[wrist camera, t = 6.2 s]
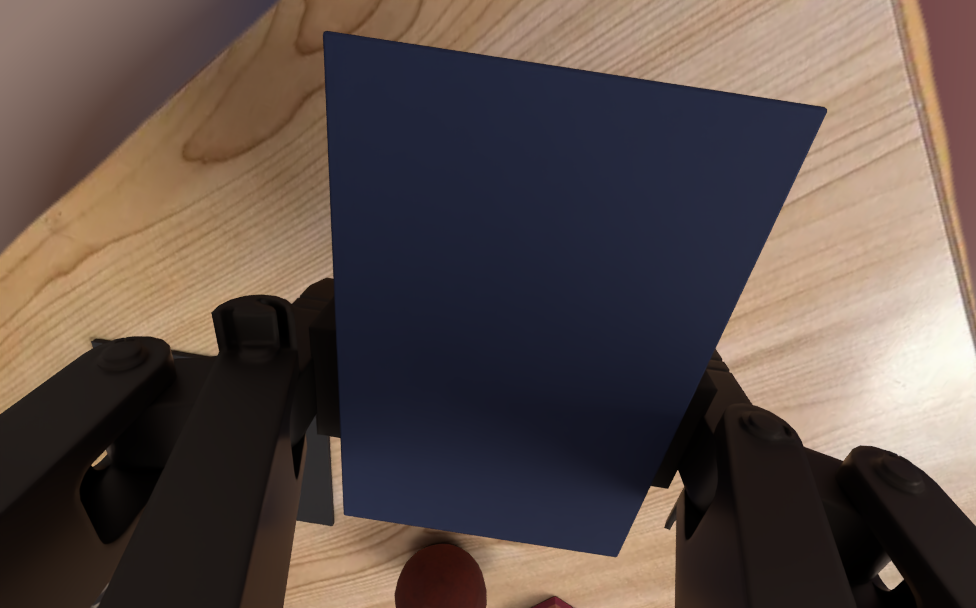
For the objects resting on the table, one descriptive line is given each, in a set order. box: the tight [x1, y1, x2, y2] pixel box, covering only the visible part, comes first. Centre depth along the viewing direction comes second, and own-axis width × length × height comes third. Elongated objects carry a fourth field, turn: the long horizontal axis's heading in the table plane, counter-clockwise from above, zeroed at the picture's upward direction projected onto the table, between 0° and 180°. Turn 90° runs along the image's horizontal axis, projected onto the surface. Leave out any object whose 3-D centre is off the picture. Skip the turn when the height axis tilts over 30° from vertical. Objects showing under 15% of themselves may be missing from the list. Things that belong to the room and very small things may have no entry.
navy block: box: [323, 31, 827, 557], centre depth 12 cm, size 14×6×9 cm, turn 172°
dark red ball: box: [395, 544, 487, 608], centre depth 35 cm, size 7×8×7 cm
